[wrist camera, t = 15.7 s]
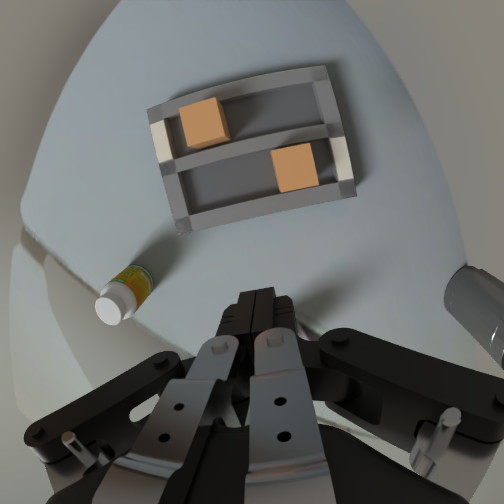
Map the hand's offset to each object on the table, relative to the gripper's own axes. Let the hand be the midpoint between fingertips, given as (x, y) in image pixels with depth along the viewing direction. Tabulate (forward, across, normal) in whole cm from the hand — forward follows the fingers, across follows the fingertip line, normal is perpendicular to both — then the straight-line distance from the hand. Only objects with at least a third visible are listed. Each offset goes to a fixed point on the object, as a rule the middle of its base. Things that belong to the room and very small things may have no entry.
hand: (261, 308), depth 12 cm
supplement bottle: (+24, +21, +5) cm, 33 cm away
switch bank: (+24, 0, -9) cm, 26 cm away
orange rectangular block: (+22, -4, -6) cm, 23 cm away
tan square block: (+22, +4, -12) cm, 26 cm away
